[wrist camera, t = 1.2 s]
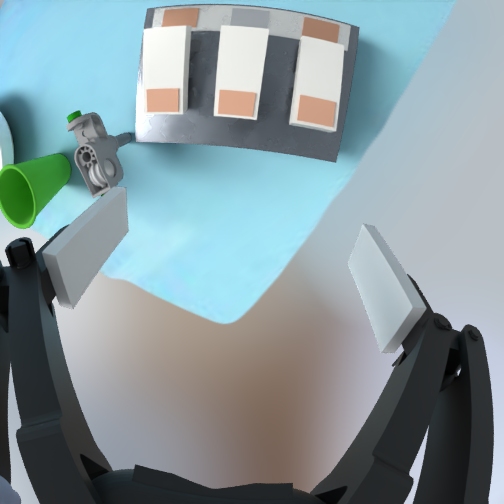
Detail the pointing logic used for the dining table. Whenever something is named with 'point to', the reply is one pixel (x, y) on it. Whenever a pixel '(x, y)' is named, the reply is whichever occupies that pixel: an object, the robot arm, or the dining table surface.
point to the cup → (31, 187)
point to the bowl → (5, 143)
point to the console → (272, 88)
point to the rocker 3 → (317, 84)
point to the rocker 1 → (166, 69)
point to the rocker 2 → (240, 71)
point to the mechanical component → (96, 152)
